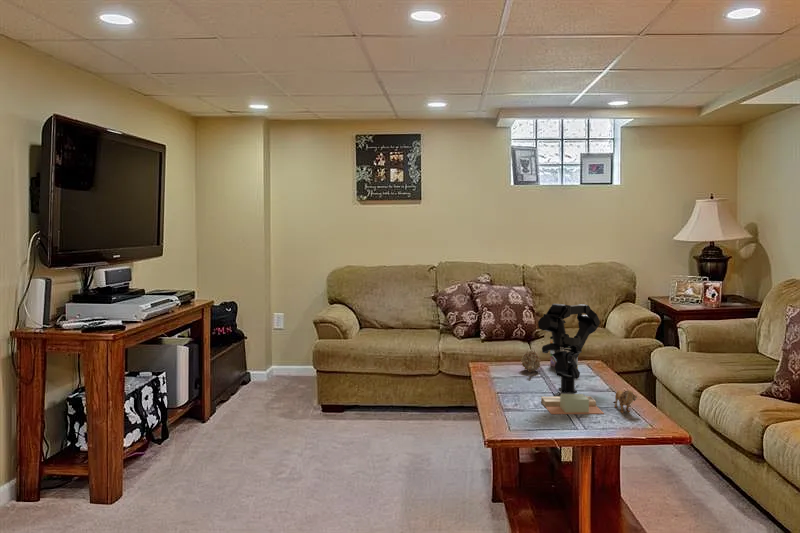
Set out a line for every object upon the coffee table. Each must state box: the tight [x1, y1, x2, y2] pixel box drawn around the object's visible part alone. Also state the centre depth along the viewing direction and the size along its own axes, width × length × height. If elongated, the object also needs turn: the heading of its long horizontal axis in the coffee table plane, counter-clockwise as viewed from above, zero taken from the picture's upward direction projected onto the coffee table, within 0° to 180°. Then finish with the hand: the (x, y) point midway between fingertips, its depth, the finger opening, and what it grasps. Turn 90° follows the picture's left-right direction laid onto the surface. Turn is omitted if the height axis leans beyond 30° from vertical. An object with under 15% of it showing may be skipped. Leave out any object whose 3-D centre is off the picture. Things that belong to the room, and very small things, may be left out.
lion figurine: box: [612, 389, 638, 414], centre depth 236 cm, size 15×5×9 cm, turn 8°
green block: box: [559, 393, 589, 412], centre depth 235 cm, size 5×9×8 cm
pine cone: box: [520, 350, 541, 373], centre depth 296 cm, size 22×10×10 cm, turn 172°
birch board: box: [540, 395, 597, 408], centre depth 244 cm, size 7×20×2 cm, turn 89°
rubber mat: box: [545, 405, 605, 415], centre depth 236 cm, size 10×20×1 cm, turn 89°
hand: (565, 369), depth 249 cm, fingers closed
